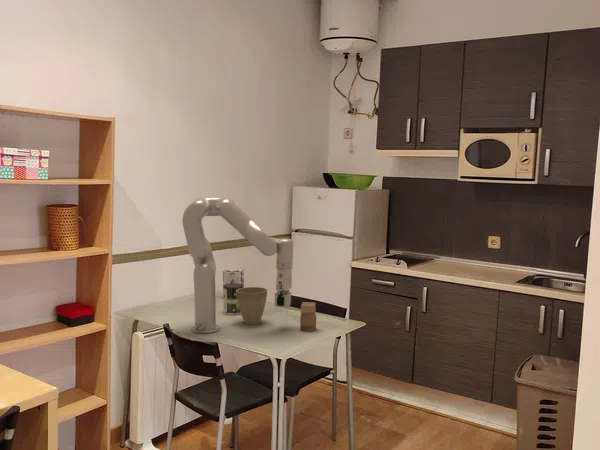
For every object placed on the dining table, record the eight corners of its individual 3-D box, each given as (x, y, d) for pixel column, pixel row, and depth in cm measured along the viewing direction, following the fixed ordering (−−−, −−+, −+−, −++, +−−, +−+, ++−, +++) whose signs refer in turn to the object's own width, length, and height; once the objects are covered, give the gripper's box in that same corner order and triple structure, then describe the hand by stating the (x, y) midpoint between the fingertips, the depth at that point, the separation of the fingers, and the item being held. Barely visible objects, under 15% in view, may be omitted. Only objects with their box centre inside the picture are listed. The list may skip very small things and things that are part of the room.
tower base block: (312, 331, 269) (312, 318, 269) (300, 330, 271) (300, 317, 270) (316, 328, 275) (316, 315, 275) (303, 327, 277) (303, 314, 276)
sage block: (286, 307, 270) (287, 294, 270) (274, 306, 272) (274, 293, 271) (290, 305, 276) (291, 292, 275) (278, 303, 278) (278, 291, 277)
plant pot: (265, 317, 293) (265, 286, 292) (269, 326, 279) (269, 292, 277) (235, 319, 291) (235, 287, 289) (237, 327, 276) (237, 293, 275)
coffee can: (247, 311, 305) (247, 284, 304) (233, 315, 297) (233, 288, 296) (233, 308, 312) (232, 282, 310) (219, 312, 303) (218, 285, 302)
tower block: (314, 318, 269) (314, 305, 269) (300, 318, 270) (300, 305, 269) (315, 315, 275) (315, 302, 274) (302, 314, 276) (302, 302, 275)
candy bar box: (244, 297, 338) (244, 269, 336) (242, 299, 333) (241, 270, 331) (225, 296, 340) (225, 268, 338) (222, 298, 335) (222, 270, 333)
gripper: (286, 269, 263) (284, 309, 265) (297, 263, 279) (295, 301, 281) (270, 267, 265) (268, 307, 267) (282, 262, 281) (280, 299, 283)
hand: (282, 303), depth 274 cm, fingers closed on sage block, 6 cm apart
